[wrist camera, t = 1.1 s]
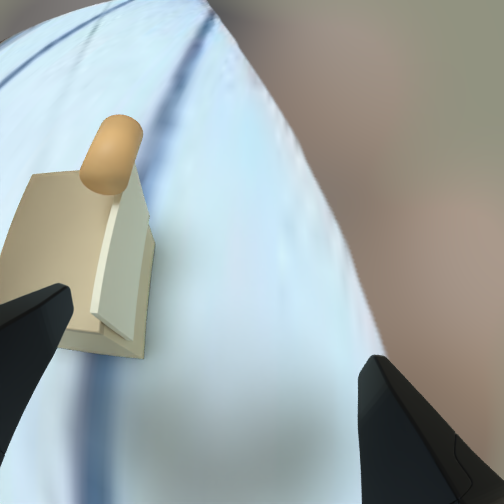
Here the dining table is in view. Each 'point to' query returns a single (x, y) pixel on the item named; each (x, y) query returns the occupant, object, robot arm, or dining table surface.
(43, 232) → the kraft carton
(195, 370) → the dining table surface
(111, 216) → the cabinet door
